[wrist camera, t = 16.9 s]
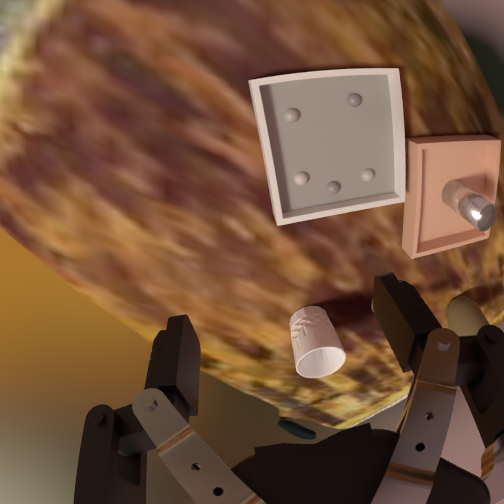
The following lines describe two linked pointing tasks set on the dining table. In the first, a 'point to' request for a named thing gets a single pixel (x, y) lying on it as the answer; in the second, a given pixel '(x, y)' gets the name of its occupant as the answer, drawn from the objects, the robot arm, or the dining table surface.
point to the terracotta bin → (433, 181)
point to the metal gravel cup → (469, 205)
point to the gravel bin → (331, 141)
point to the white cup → (315, 343)
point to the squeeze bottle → (465, 316)
